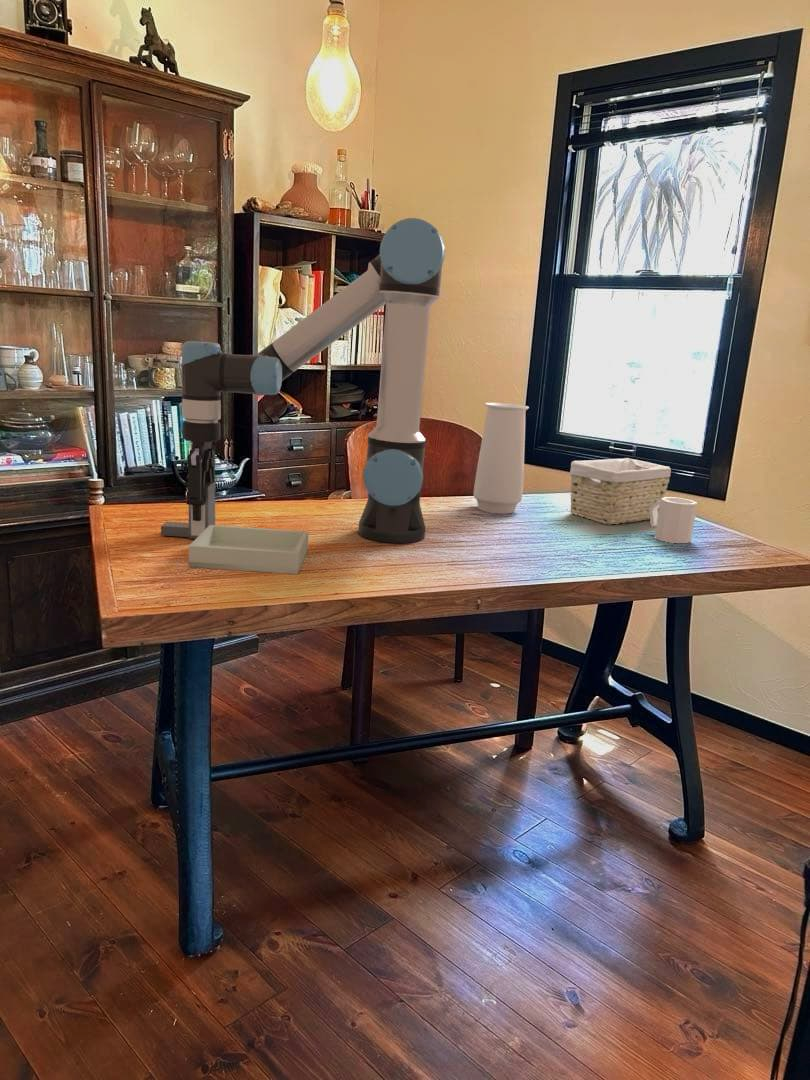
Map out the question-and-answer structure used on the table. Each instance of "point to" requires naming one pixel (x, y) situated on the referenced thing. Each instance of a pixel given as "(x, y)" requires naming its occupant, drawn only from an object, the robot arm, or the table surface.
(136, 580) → the table surface
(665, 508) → the mug
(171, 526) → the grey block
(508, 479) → the vase
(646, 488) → the storage basket
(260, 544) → the tray
